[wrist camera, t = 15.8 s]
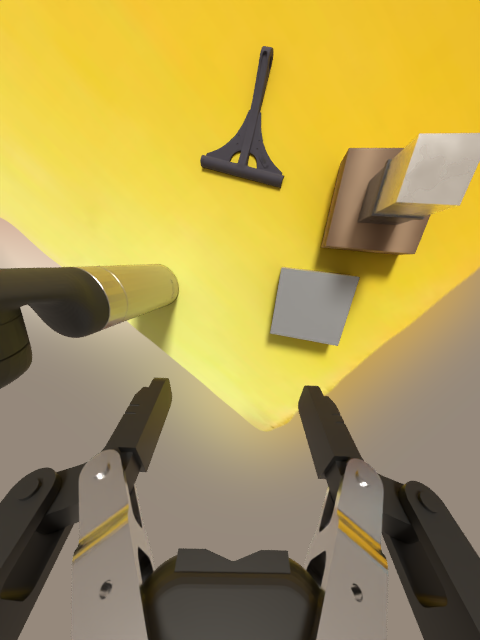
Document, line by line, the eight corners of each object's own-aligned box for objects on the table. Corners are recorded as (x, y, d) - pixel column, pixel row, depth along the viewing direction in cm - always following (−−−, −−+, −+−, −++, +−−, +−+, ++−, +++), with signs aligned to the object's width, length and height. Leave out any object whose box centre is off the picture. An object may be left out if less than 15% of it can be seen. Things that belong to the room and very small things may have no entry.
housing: (355, 223, 26) (392, 204, 17) (368, 179, 25) (417, 130, 15) (397, 226, 25) (461, 208, 16) (413, 180, 24) (496, 129, 14)
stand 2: (320, 247, 32) (325, 245, 28) (340, 162, 28) (349, 148, 24) (398, 254, 30) (414, 253, 26) (432, 164, 26) (457, 147, 22)
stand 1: (271, 326, 38) (270, 333, 35) (281, 266, 34) (281, 267, 31) (332, 337, 36) (337, 345, 32) (351, 275, 32) (359, 277, 28)
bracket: (318, 68, 26) (321, 47, 23) (280, 189, 31) (280, 183, 29) (224, 52, 28) (217, 31, 25) (204, 169, 33) (197, 161, 30)
